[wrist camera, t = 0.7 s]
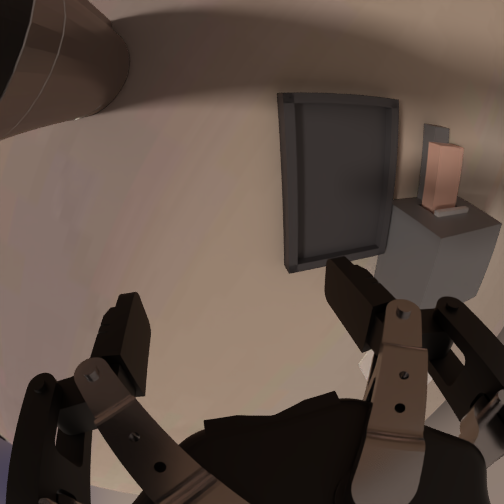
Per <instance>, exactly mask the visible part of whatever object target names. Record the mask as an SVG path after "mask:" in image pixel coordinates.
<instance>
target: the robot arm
mask: <svg viewBox="0 0 504 504" xmlns="http://www.w3.org/2000/svg"><path fill="white" fill-rule="evenodd" d="M129 62H130V60H129V52H128V49H127V46H126V43H125V42H124V41H123V39H122V38H121V37H120V36H119V35H118V34H117V33H116V32H115V31H114V30H112V23H111V21H110V20H109V19H108V18H107V17H106V16H105V15H104V14H102V13H101V12H100V11H99V10H98V9H97V8H96V7H95V6H94V5H92V4H91V3H90V2H89V1H88V0H0V140H3V139H6V138H9V137H12V136H15V135H18V134H21V133H24V132H27V131H31V130H34V129H38V128H41V127H45V126H49V125H53V124H57V123H61V122H65V121H71V120H76V119H80V118H83V117H87V116H90V115H92V114H95V113H97V112H99V111H100V110H102V109H103V108H105V107H106V106H107V105H108V104H109V103H110V102H111V101H112V100H113V99H114V98H115V97H116V96H117V94H118V93H119V92H120V90H121V88H122V86H123V84H124V83H125V80H126V77H127V74H128V71H129ZM325 296H326V300H327V302H328V304H329V305H330V306H331V308H332V309H333V311H334V312H335V314H336V315H337V317H338V318H339V320H340V321H341V322H342V324H343V325H344V327H345V328H346V330H347V331H348V333H349V334H350V336H351V337H352V339H353V340H354V342H355V343H356V345H357V346H358V348H359V349H360V351H361V352H362V353H363V352H366V351H368V350H371V349H372V350H373V352H374V355H373V358H372V363H371V368H370V372H369V377H368V381H367V386H366V390H365V394H364V397H363V400H359V399H350V398H342V399H339V398H338V396H337V394H336V392H335V391H332V392H329V393H326V394H323V395H320V396H316V397H313V398H309V399H306V400H303V401H301V402H300V403H298V404H296V405H294V406H292V407H290V408H288V409H286V410H284V411H282V412H280V413H278V414H276V415H272V416H245V415H235V416H230V417H223V418H217V419H210V420H204V428H205V429H204V430H201V431H199V432H197V433H195V434H193V435H191V436H189V437H188V438H186V439H185V440H184V441H182V442H181V443H180V444H179V445H178V444H177V443H176V442H175V441H174V440H173V439H172V438H171V437H170V436H169V435H168V434H167V433H166V432H165V431H164V430H163V429H162V428H161V427H160V426H159V425H158V424H157V422H156V421H155V420H154V419H153V418H152V417H151V416H150V415H149V414H148V412H147V411H146V410H145V409H144V408H143V407H142V405H141V404H140V403H139V402H138V401H137V400H136V398H135V397H140V396H145V390H146V377H147V366H148V356H149V346H150V338H151V329H150V324H149V320H148V318H147V315H146V312H145V310H144V307H143V304H142V302H141V299H140V296H139V294H138V293H137V292H132V293H126V294H120V295H119V297H118V300H117V303H116V306H115V307H112V308H110V309H109V310H108V311H107V313H106V314H105V315H104V316H103V319H102V322H101V327H100V328H99V331H98V333H99V334H97V337H96V341H95V344H94V347H93V350H92V354H91V357H90V358H89V359H86V360H85V361H83V362H82V363H80V364H79V365H78V367H77V368H76V370H75V373H74V376H73V377H70V378H67V379H63V380H60V381H56V379H55V378H54V377H53V376H52V375H51V374H49V373H41V374H39V375H37V376H35V377H34V378H33V379H32V380H31V381H30V383H29V385H28V387H27V390H26V393H25V397H24V400H23V404H22V407H21V411H20V415H19V419H18V423H17V427H16V432H15V436H14V441H13V447H12V452H11V458H10V465H9V473H8V481H7V493H6V504H91V500H90V463H91V442H92V430H94V429H99V431H100V433H101V434H102V436H103V437H104V439H105V440H106V442H107V443H108V445H109V446H110V448H111V449H112V451H113V452H114V454H115V455H116V456H117V458H118V459H119V460H120V462H121V463H122V465H123V466H124V467H125V468H126V470H127V471H128V472H129V474H130V475H131V476H132V477H133V479H134V480H135V481H136V482H137V484H138V485H139V486H140V487H141V488H142V490H143V491H142V492H141V493H140V495H139V496H138V497H137V499H136V500H135V501H134V502H133V503H132V504H490V501H489V496H488V490H487V470H486V469H487V468H488V467H489V466H490V465H492V464H493V463H494V462H495V461H497V460H498V459H500V457H502V456H503V455H504V345H503V344H502V343H501V342H500V341H499V340H498V339H497V337H496V336H495V335H494V334H493V333H492V332H491V331H490V330H489V329H488V328H487V327H486V326H485V325H484V324H483V322H482V321H481V320H480V319H479V318H478V317H477V316H476V315H475V314H474V313H473V312H472V311H471V310H470V309H469V308H468V307H467V306H466V305H465V304H464V303H463V302H461V301H460V300H459V299H457V298H454V297H450V296H445V297H441V298H440V299H438V301H437V304H436V307H435V308H432V309H420V308H419V307H418V306H417V305H416V304H415V303H413V302H411V301H409V300H405V299H396V298H395V297H394V296H393V295H392V294H391V293H390V292H389V291H388V290H387V289H386V288H385V287H384V286H383V285H382V284H381V283H379V282H378V280H377V279H376V278H375V277H374V278H373V275H372V274H371V273H370V272H369V271H368V270H367V269H364V268H362V267H360V266H358V265H353V264H352V263H351V262H350V261H349V260H348V259H347V258H346V257H345V256H341V257H336V258H331V259H328V260H327V262H326V275H325ZM453 342H454V343H455V344H456V346H457V347H458V348H459V349H460V350H461V352H462V353H463V354H464V356H465V366H464V365H463V364H462V363H461V361H460V360H459V359H458V358H457V356H456V355H455V354H454V353H453V351H452V350H451V347H452V344H453ZM428 373H429V375H430V376H431V377H432V379H433V380H434V382H435V383H436V385H437V386H438V388H439V389H440V391H441V393H442V394H443V396H444V397H445V399H446V400H447V402H448V403H449V405H450V406H451V408H452V410H453V411H454V413H455V414H456V416H457V418H458V419H459V421H460V435H459V437H456V436H453V435H450V434H447V433H444V432H441V431H439V430H436V429H433V428H431V427H428V426H425V425H424V422H425V412H426V400H427V381H428ZM57 427H58V433H57V440H56V446H55V435H56V429H57Z"/></svg>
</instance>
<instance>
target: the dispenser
mask: <svg viewBox="0 0 504 504" xmlns="http://www.w3.org/2000/svg"><path fill="white" fill-rule="evenodd" d="M429 142H437V143H447V144H448V143H449V128H446V127H442V126H438V125H431V124H424V135H423V150H422V162H421V171H420V180H419V188H418V195H417V197H415V198H405V199H395V200H393V202H392V210H391V217H390V224H389V230H388V236H387V242H386V247H385V253H384V254H380V255H378V260H377V265H376V270H375V275H374V277H375V278H376V279H377V280H378V282H379V283H381V284H382V285H383V286H384V287H385V288H386V289H387V290H388V291H389V292H390V293H391V294H392V295H393V296H394V297H395V298H396V299H405V300H409V301H411V302H413V303H415V304H416V305H417V306H418V307H419V308H420V309H432V308H435V307H436V304H437V301H438V299H440V298H441V297H445V296H450V297H454V298H457V299H459V300H460V301H461V302H465V301H467V300H469V299H471V298H473V297H475V296H476V294H477V292H478V290H479V287H480V285H481V283H482V280H483V278H484V275H485V273H486V270H487V267H488V265H489V262H490V259H491V256H492V254H493V251H494V248H495V245H496V241H497V238H498V235H499V232H500V228H501V225H502V223H500V222H499V221H497V220H496V219H494V218H493V217H491V216H490V215H488V214H487V213H485V212H483V211H482V210H480V209H479V208H477V207H475V206H474V205H472V204H470V203H469V202H467V201H465V200H463V199H462V198H460V197H458V196H457V199H456V204H455V207H453V208H446V209H438V210H435V212H434V214H432V213H431V212H429V211H428V210H426V209H424V208H423V207H421V205H422V198H423V192H424V185H425V177H426V168H427V159H428V147H429Z"/></svg>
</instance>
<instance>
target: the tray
mask: <svg viewBox="0 0 504 504" xmlns="http://www.w3.org/2000/svg"><path fill="white" fill-rule="evenodd" d="M277 103H278V118H279V134H280V152H281V173H282V197H283V228H284V265H285V267H286V269H287V271H288V273H289V274H290V273H295V272H300V271H305V270H310V269H315V268H319V267H324V266H326V262H327V260H328V259H331V258H336V257H341V256H345V257H346V258H347V259H348V260H349V261H353V260H358V259H362V258H367V257H371V256H376V255H380V254H384V253H385V247H386V242H387V236H388V230H389V224H390V217H391V210H392V202H393V194H394V185H395V175H396V163H397V148H398V124H399V100H397V99H390V98H382V97H374V96H364V95H352V94H336V93H277Z"/></svg>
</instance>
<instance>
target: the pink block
mask: <svg viewBox="0 0 504 504" xmlns="http://www.w3.org/2000/svg"><path fill="white" fill-rule="evenodd" d="M463 151H464V148H462V147H459V146H457V145H454V144H447V143H437V142H429V147H428V159H427V168H426V177H425V185H424V192H423V198H422V205H421V207H423V208H424V209H426V210H428V211H429V212H431V213H432V214H434V212H435V210H438V209H446V208H453V207H455V204H456V199H457V194H458V188H459V182H460V175H461V168H462V160H463Z"/></svg>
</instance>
